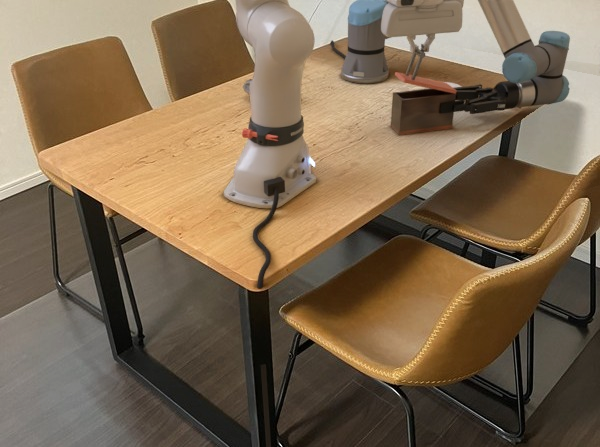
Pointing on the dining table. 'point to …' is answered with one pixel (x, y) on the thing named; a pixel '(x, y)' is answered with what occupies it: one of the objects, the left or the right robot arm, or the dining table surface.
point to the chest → (420, 111)
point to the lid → (422, 81)
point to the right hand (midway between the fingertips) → (434, 103)
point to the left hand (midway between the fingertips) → (419, 52)
